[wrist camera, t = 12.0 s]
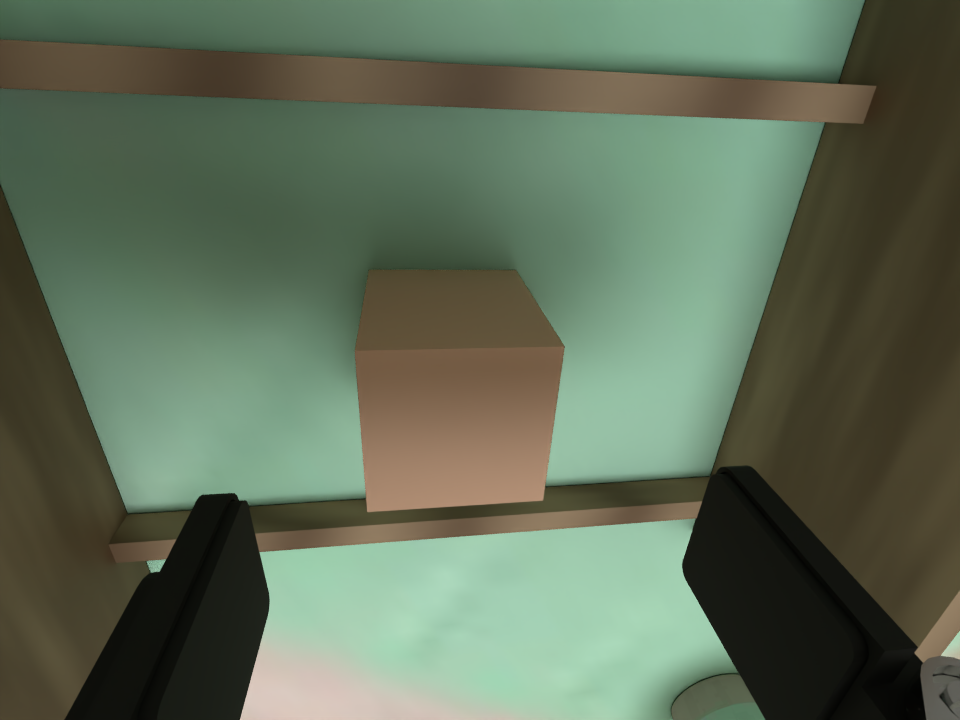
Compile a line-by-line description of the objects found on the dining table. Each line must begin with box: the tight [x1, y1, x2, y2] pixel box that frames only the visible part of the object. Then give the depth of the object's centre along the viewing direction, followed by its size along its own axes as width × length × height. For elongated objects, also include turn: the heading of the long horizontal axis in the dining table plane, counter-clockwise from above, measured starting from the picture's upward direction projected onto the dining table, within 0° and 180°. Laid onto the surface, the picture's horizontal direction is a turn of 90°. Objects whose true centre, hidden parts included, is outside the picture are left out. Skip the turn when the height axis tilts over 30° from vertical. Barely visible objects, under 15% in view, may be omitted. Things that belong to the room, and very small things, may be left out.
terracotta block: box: [355, 270, 565, 512], centre depth 16 cm, size 5×5×6 cm
